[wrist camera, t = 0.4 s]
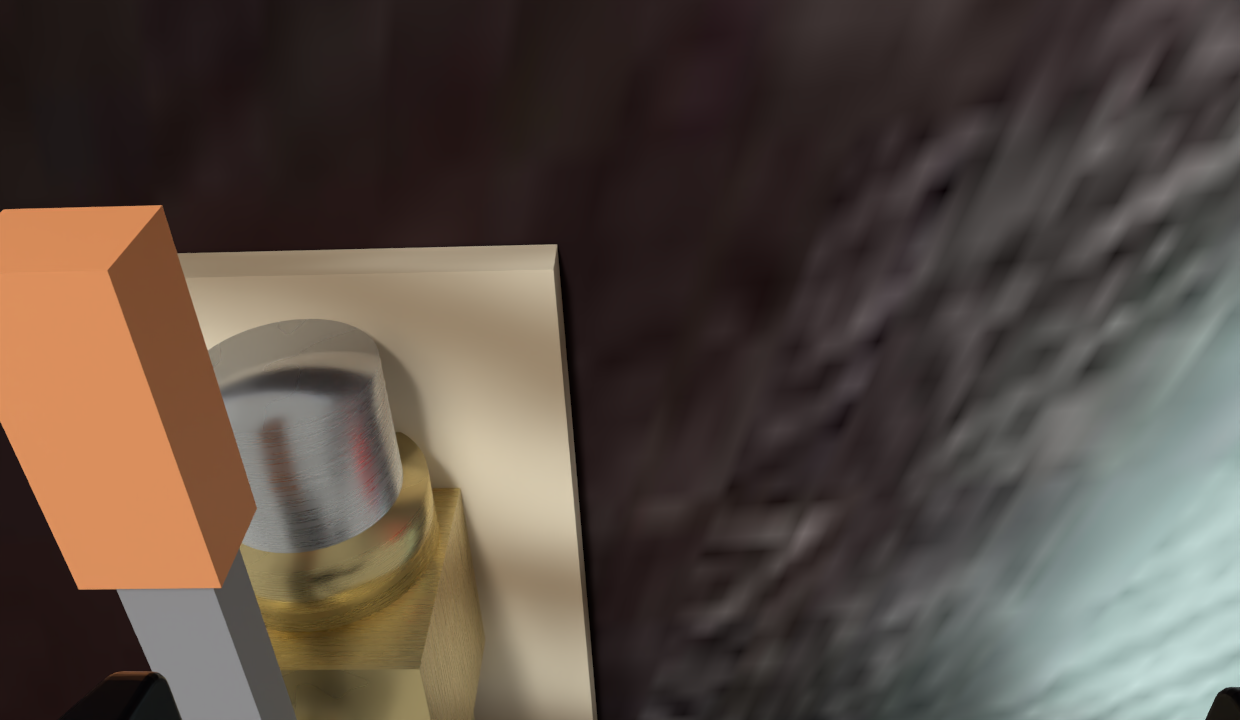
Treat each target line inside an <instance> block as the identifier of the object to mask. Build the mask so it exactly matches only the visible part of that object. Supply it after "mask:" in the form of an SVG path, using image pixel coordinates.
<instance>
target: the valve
mask: <svg viewBox="0 0 1240 720" xmlns="http://www.w3.org/2000/svg"><path fill="white" fill-rule="evenodd" d="M208 353H209V357H210V360H211V363H212V366H213V369H214V373H215V376H216V379H217V382H218V385H219V388H220V392H221V395H222V398H223V401H224V404H225V408H226V411H227V414H228V417H229V420H230V424H231V427H232V430H233V433H234V436H235V440H236V443H237V446H238V449H239V452H240V455H241V459H242V462H243V465H244V468H245V471H246V475H247V478H248V481H249V484H250V487H251V491H252V494H253V497H254V500H255V503H256V507H257V510H256V512H255V514H254V516H253V519H252V521H251V523H250V525H249V528H248V530H247V532H246V534H245V537H244V539H243V541H242V543H241V546H240V551H241V554H242V557H243V560H244V563H245V566H246V569H247V572H248V575H249V578H250V581H251V584H252V587H253V590H254V593H255V596H256V599H257V602H258V605H259V608H260V611H261V614H262V617H263V620H264V623H265V626H266V629H267V632H268V635H269V638H270V641H271V644H272V647H273V650H274V653H275V656H276V659H277V662H278V665H279V668H280V671H281V674H282V677H283V680H284V683H285V686H286V689H287V692H288V695H289V698H290V700H291V703H292V706H293V709H294V712H295V715H296V718H297V720H475V718H474V706H475V700H476V694H477V688H478V682H479V676H480V670H481V664H482V658H483V652H484V646H485V634H484V628H483V622H482V616H481V610H480V604H479V598H478V592H477V586H476V580H475V574H474V568H473V562H472V556H471V550H470V544H469V538H468V532H467V526H466V520H465V514H464V508H463V502H462V496H461V490H460V488H432V487H431V482H430V477H429V471H428V466H427V462H426V459H425V457H424V455H423V453H422V451H421V449H420V448H419V447H418V446H417V444H416V443H415V442H414V441H413V440H411V439H410V438H409V437H408V436H406V435H405V434H403V433H402V432H395V429H394V425H393V420H392V415H391V410H390V405H389V400H388V395H387V390H386V385H385V381H384V376H383V371H382V366H381V361H380V356H379V352H378V348H377V346H376V344H375V342H374V341H373V340H372V338H371V337H370V336H369V335H367V334H366V333H365V332H363V331H362V330H360V329H358V328H356V327H354V326H351V325H349V324H345V323H342V322H338V321H332V320H324V319H296V320H287V321H281V322H275V323H270V324H266V325H262V326H259V327H255V328H252V329H249V330H246V331H244V332H241V333H239V334H236V335H234V336H232V337H230V338H228V339H226V340H224V341H222V342H220V343H219V344H217V345H215V346H214V347H212V348H211V349H209V350H208Z"/></svg>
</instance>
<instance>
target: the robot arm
mask: <svg viewBox="0 0 1240 720" xmlns="http://www.w3.org/2000/svg"><path fill="white" fill-rule="evenodd" d="M58 720H182V718H181V715H180V713H179V710H178V708H177V705H176V702H175V700H174V697H173V694H172V692H171V689H170V686H169V684H168V682H167V680H166V678H165V677H164V676H163V675H161V674H160V673H158V672H136V671H122V672H116V673H114V674H112V675H110V676H108V677H106V678H105V679H104V680H103V681H101V682H100V683H99V684H98V685H97V686H96V687H95V688H93V689H92V690H91V691H90V692H89V693H88V694H87V695H85V696H84V697H83V698H82V699H81V700H80V701H79V702H77V703H76V704H75V705H74V706H73V707H72V708H71V709H69V710H68V711H67V712H66V713H65V714H64V715H63V716H62V717H60V718H59V719H58ZM1205 720H1240V687H1229V688H1225V689H1223V690H1222V691H1220V692H1219V693H1218V694H1217V696H1216V697H1215V700H1214V702H1213V704H1212V706H1211V708H1210V711H1209V713H1208V715H1207V717H1206V719H1205Z"/></svg>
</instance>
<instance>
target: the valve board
mask: <svg viewBox="0 0 1240 720" xmlns="http://www.w3.org/2000/svg"><path fill="white" fill-rule="evenodd" d="M178 258H179V261H180V264H181V267H182V270H183V274H184V277H185V280H186V283H187V286H188V290H189V293H190V296H191V299H192V302H193V306H194V309H195V312H196V315H197V318H198V321H199V325H200V328H201V331H202V334H203V337H204V341H205V344H206V347H207V350H209V349H211V348H212V347H214V346H215V345H217V344H219V343H220V342H222V341H224V340H226V339H228V338H230V337H232V336H234V335H236V334H239V333H241V332H244V331H246V330H249V329H252V328H255V327H259V326H262V325H266V324H270V323H275V322H281V321H287V320H296V319H324V320H332V321H338V322H342V323H345V324H349V325H351V326H354V327H356V328H358V329H360V330H362V331H363V332H365V333H366V334H367V335H369V336H370V337H371V338H372V340H373V341H374V342H375V344H376V346H377V348H378V352H379V356H380V361H381V366H382V371H383V376H384V381H385V385H386V390H387V395H388V400H389V405H390V410H391V415H392V420H393V425H394V429H395V432H402V433H403V434H405V435H406V436H408V437H409V438H410V439H411V440H413V441H414V442H415V443H416V444H417V446H418V447H419V448H420V449H421V451H422V453H423V455H424V457H425V459H426V462H427V466H428V471H429V477H430V482H431V487H432V488H460V490H461V496H462V502H463V508H464V514H465V520H466V526H467V532H468V538H469V544H470V550H471V556H472V562H473V568H474V574H475V580H476V586H477V592H478V598H479V604H480V610H481V616H482V622H483V628H484V634H485V646H484V652H483V658H482V664H481V670H480V676H479V682H478V688H477V694H476V700H475V706H474V718H475V720H597V710H596V698H595V686H594V674H593V662H592V650H591V639H590V627H589V615H588V603H587V591H586V579H585V567H584V556H583V544H582V532H581V520H580V508H579V496H578V484H577V473H576V461H575V449H574V437H573V425H572V413H571V401H570V390H569V378H568V366H567V354H566V342H565V330H564V318H563V306H562V295H561V283H560V271H559V259H558V247H557V244H556V245H514V246H472V247H430V248H388V249H346V250H304V251H262V252H220V253H178Z"/></svg>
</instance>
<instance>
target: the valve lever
mask: <svg viewBox="0 0 1240 720" xmlns="http://www.w3.org/2000/svg"><path fill="white" fill-rule="evenodd" d="M0 421H1V424H2V426H3V428H4V430H5V432H6V434H7V436H8V439H9V441H10V443H11V445H12V447H13V449H14V451H15V454H16V456H17V458H18V460H19V462H20V464H21V466H22V469H23V471H24V473H25V475H26V477H27V479H28V481H29V484H30V486H31V488H32V490H33V492H34V494H35V496H36V499H37V501H38V503H39V505H40V507H41V509H42V511H43V514H44V516H45V518H46V520H47V522H48V524H49V526H50V529H51V531H52V533H53V535H54V537H55V539H56V541H57V544H58V546H59V548H60V550H61V552H62V554H63V556H64V558H65V561H66V563H67V565H68V567H69V569H70V571H71V573H72V576H73V578H74V580H75V582H76V584H77V586H78V588H79V589H116V590H117V592H118V594H119V596H120V599H121V601H122V603H123V606H124V608H125V610H126V612H127V615H128V617H129V619H130V622H131V624H132V626H133V628H134V631H135V633H136V635H137V637H138V640H139V642H140V644H141V647H142V649H143V651H144V653H145V656H146V658H147V660H148V663H149V665H150V667H151V669H152V672H158V673H160V674H161V675H163V676H164V677H165V678H166V680H167V682H168V684H169V686H170V689H171V692H172V694H173V697H174V700H175V702H176V705H177V708H178V710H179V713H180V715H181V718H182V720H297V718H296V715H295V712H294V709H293V706H292V703H291V700H290V698H289V695H288V692H287V689H286V686H285V683H284V680H283V677H282V674H281V671H280V668H279V665H278V662H277V659H276V656H275V653H274V650H273V647H272V644H271V641H270V638H269V635H268V632H267V629H266V626H265V623H264V620H263V617H262V614H261V611H260V608H259V605H258V602H257V599H256V596H255V593H254V590H253V587H252V584H251V581H250V578H249V575H248V572H247V569H246V566H245V563H244V560H243V557H242V554H241V551H240V546H241V543H242V541H243V539H244V537H245V534H246V532H247V530H248V528H249V525H250V523H251V521H252V519H253V516H254V514H255V512H256V510H257V507H256V503H255V500H254V497H253V494H252V491H251V487H250V484H249V481H248V478H247V475H246V471H245V468H244V465H243V462H242V459H241V455H240V452H239V449H238V446H237V443H236V440H235V436H234V433H233V430H232V427H231V424H230V420H229V417H228V414H227V411H226V408H225V404H224V401H223V398H222V395H221V392H220V388H219V385H218V382H217V379H216V376H215V373H214V369H213V366H212V363H211V360H210V357H209V353H208V350H207V347H206V344H205V341H204V337H203V334H202V331H201V328H200V325H199V321H198V318H197V315H196V312H195V309H194V306H193V302H192V299H191V296H190V293H189V290H188V286H187V283H186V280H185V277H184V274H183V270H182V267H181V264H180V261H179V258H178V254H177V251H176V248H175V245H174V242H173V239H172V235H171V232H170V229H169V226H168V223H167V219H166V216H165V213H164V210H163V207H162V205H158V206H120V207H81V208H42V209H4V210H3V211H2V212H0Z"/></svg>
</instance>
